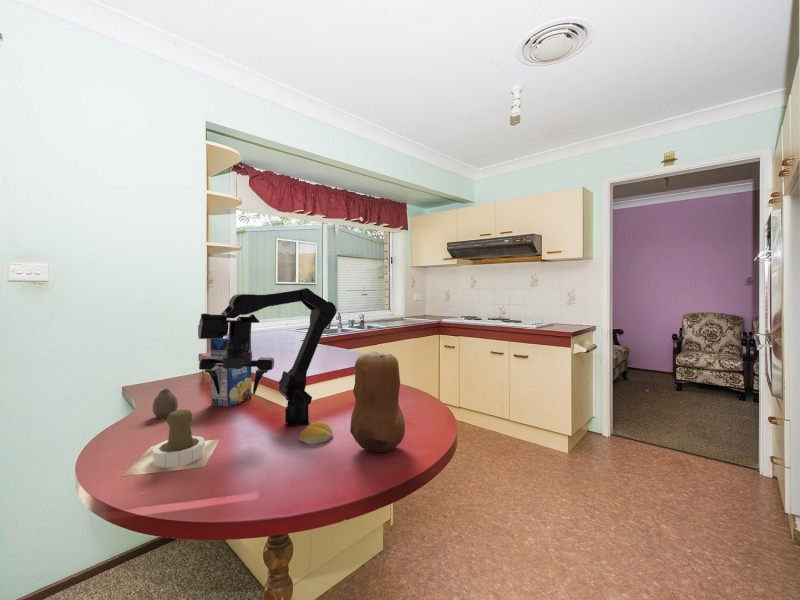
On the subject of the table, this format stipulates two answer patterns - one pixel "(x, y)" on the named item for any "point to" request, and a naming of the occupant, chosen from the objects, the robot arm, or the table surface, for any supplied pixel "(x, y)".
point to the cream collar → (178, 454)
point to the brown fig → (164, 404)
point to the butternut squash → (377, 403)
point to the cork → (179, 431)
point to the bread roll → (316, 433)
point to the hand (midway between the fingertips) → (236, 394)
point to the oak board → (147, 466)
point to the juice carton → (230, 379)
